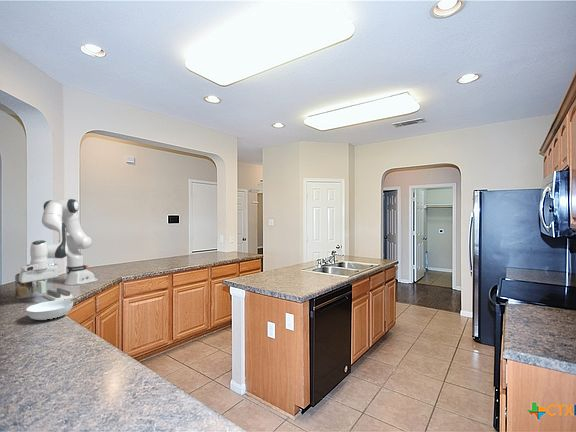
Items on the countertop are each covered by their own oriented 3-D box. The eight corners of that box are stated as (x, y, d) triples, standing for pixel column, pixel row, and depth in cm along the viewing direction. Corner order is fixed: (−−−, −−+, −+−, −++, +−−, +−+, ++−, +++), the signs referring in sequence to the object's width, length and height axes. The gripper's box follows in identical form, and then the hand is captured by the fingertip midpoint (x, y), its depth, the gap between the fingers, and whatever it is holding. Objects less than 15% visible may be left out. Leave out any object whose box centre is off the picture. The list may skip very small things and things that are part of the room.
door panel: (38, 289, 197) (38, 279, 197) (46, 292, 191) (45, 281, 190) (34, 290, 195) (33, 279, 195) (41, 293, 189) (41, 282, 188)
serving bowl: (67, 308, 182) (67, 297, 181) (78, 316, 168) (78, 304, 168) (22, 317, 165) (22, 305, 165) (30, 327, 152) (30, 314, 152)
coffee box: (35, 294, 207) (35, 272, 207) (32, 297, 201) (32, 274, 201) (18, 296, 203) (18, 273, 202) (14, 299, 197) (14, 275, 197)
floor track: (61, 293, 211) (61, 287, 211) (72, 297, 202) (72, 291, 202) (44, 297, 202) (44, 290, 202) (55, 301, 193) (55, 294, 193)
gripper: (56, 262, 203) (56, 282, 203) (17, 267, 185) (18, 289, 186) (60, 263, 199) (60, 283, 200) (21, 269, 182) (21, 291, 182)
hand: (39, 286), depth 193 cm, fingers closed on door panel, 2 cm apart
